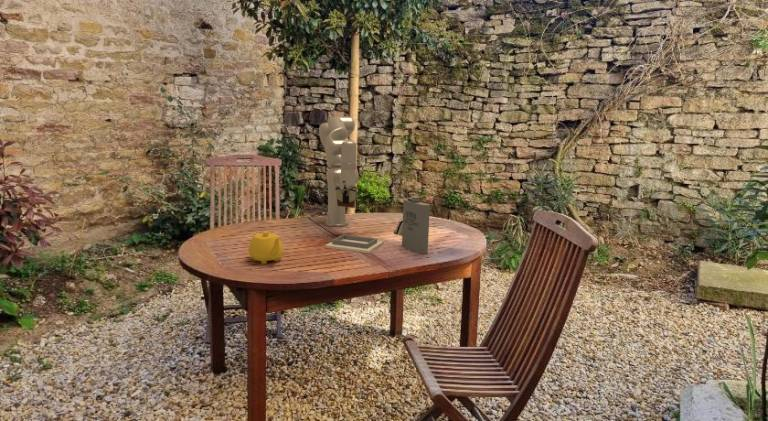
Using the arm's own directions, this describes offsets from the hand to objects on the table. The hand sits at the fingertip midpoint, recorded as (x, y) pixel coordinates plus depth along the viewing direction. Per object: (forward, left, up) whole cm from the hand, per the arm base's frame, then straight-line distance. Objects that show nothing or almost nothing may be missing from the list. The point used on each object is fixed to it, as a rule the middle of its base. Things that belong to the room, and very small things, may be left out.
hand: (348, 202), depth 252 cm
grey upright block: (+38, -9, -18) cm, 43 cm away
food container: (0, +1, -2) cm, 3 cm away
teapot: (-12, -54, -18) cm, 58 cm away
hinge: (+26, +22, -18) cm, 38 cm away
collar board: (+11, -16, -18) cm, 26 cm away
